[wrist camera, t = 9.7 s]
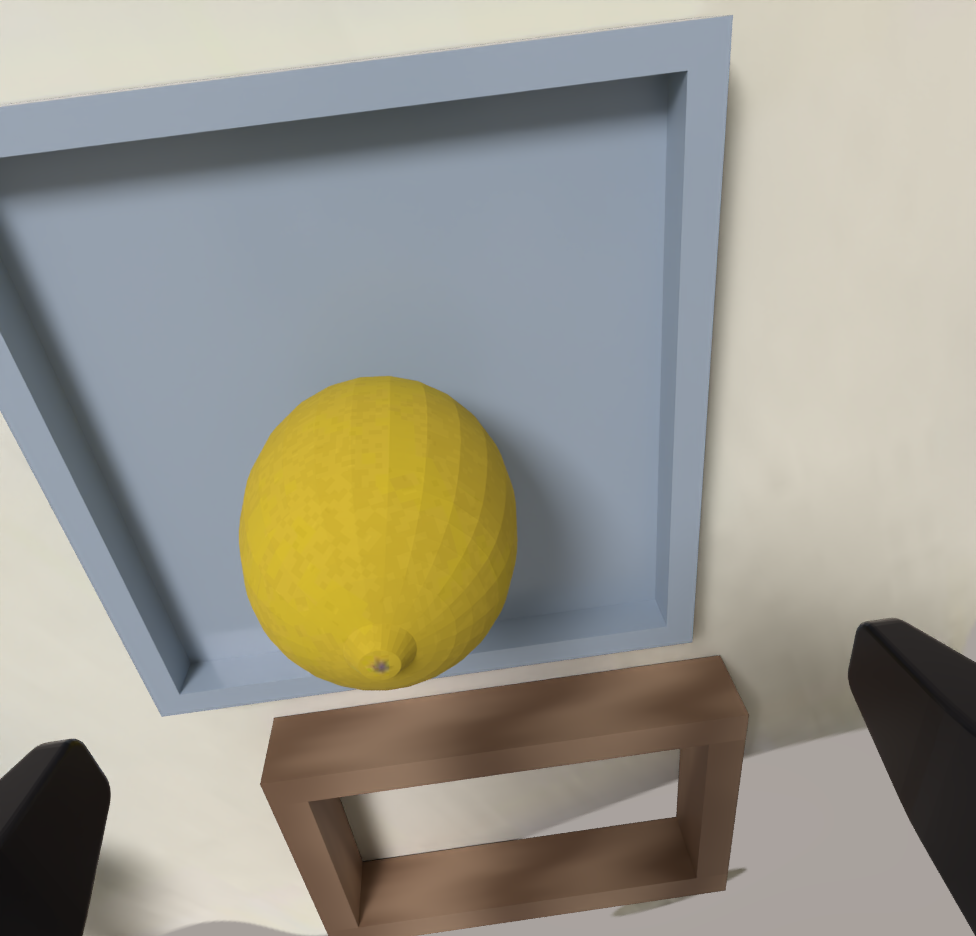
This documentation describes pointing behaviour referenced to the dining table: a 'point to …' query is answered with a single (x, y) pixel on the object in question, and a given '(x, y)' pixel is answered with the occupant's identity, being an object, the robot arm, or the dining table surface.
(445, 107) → the tray
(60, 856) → the robot arm
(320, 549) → the lemon
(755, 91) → the dining table surface
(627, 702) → the holder
